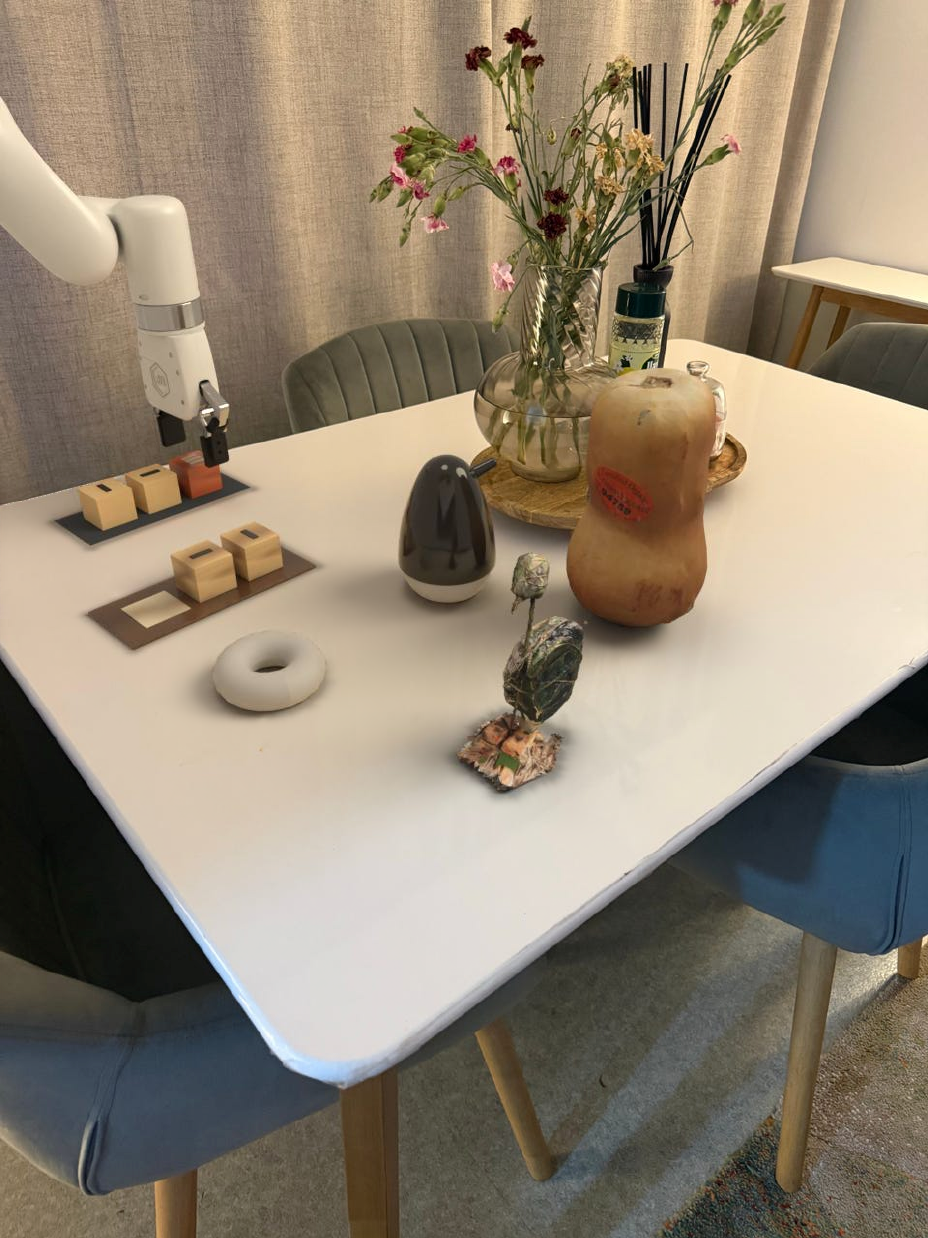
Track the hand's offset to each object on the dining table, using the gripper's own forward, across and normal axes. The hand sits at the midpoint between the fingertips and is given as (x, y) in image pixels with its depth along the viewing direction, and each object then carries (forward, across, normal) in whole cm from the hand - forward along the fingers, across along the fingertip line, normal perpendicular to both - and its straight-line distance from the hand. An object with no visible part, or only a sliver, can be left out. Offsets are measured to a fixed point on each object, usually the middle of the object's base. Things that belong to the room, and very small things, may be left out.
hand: (195, 453), depth 112 cm
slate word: (+5, 0, -6) cm, 8 cm away
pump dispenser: (+6, +40, +5) cm, 40 cm away
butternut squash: (+6, +57, +14) cm, 59 cm away
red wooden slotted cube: (+5, 0, 0) cm, 5 cm away
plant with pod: (+6, +62, -9) cm, 63 cm away
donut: (+6, +40, -18) cm, 44 cm away
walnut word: (+5, +22, -13) cm, 26 cm away
